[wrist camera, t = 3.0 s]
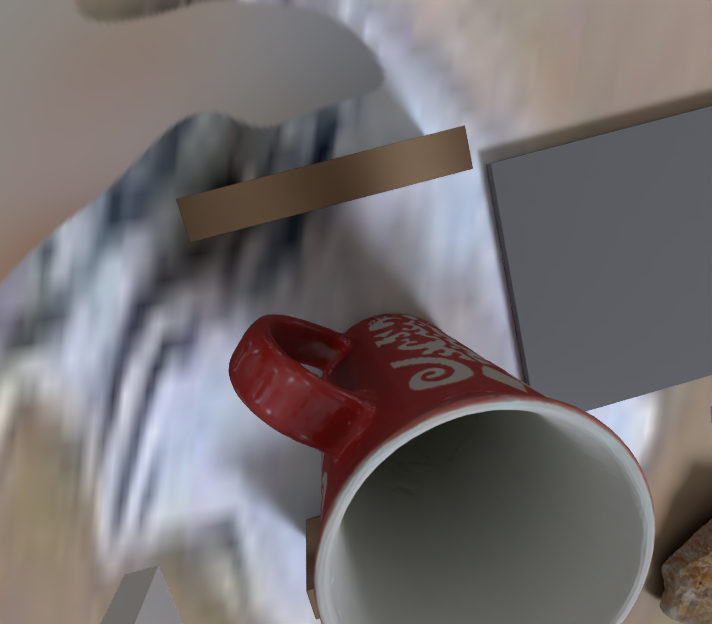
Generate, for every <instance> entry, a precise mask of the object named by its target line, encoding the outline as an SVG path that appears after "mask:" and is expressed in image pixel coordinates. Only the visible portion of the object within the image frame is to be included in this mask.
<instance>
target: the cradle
mask: <svg viewBox="0 0 712 624" xmlns="http://www.w3.org/2000/svg"><path fill="white" fill-rule="evenodd" d="M470 169H473V166H472V161H471V156H470V150H469V145H468V140H467V134H466V129H465V126H461V127H457V128H453V129H449V130H445V131H441V132H437V133H433V134H430V135H426V136H422V137H418V138H414V139H410V140H406V141H402V142H398V143H394V144H390V145H386V146H383V147H379V148H375V149H371V150H367V151H363V152H359V153H355V154H351V155H347V156H343V157H339V158H336V159H332V160H328V161H324V162H320V163H316V164H312V165H308V166H304V167H300V168H296V169H292V170H289V171H285V172H281V173H277V174H273V175H269V176H265V177H261V178H257V179H253V180H249V181H246V182H242V183H238V184H234V185H230V186H226V187H222V188H218V189H214V190H210V191H206V192H202V193H199V194H195V195H191V196H187V197H183V198H179V199H176V201H177V204H178V207H179V210H180V213H181V216H182V219H183V222H184V225H185V228H186V231H187V234H188V237H189V240H190V242H193V241H197V240H201V239H205V238H209V237H213V236H216V235H220V234H224V233H228V232H232V231H236V230H240V229H243V228H247V227H251V226H255V225H259V224H263V223H266V222H270V221H274V220H278V219H282V218H286V217H289V216H293V215H297V214H301V213H305V212H309V211H312V210H316V209H320V208H324V207H328V206H332V205H336V204H339V203H343V202H347V201H351V200H355V199H359V198H362V197H366V196H370V195H374V194H378V193H382V192H385V191H389V190H393V189H397V188H401V187H405V186H408V185H412V184H416V183H420V182H424V181H428V180H432V179H435V178H439V177H443V176H447V175H451V174H455V173H458V172H462V171H466V170H470ZM320 530H321V516H319V517H315V518H312V519H308V520H306V591H307V594H308V597H309V600H310V603H311V606H312V609H313V612H314V615H315V618H316V619H319V618H320V617H319V614H318V610H317V606H316V601H315V596H314V586H313V570H314V556H315V551H316V546H317V541H318V537H319V533H320Z"/></svg>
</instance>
